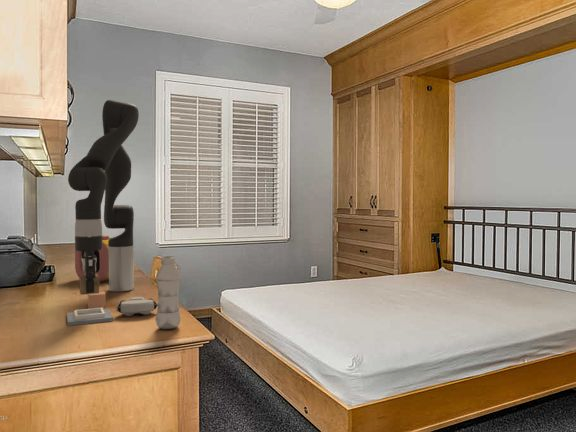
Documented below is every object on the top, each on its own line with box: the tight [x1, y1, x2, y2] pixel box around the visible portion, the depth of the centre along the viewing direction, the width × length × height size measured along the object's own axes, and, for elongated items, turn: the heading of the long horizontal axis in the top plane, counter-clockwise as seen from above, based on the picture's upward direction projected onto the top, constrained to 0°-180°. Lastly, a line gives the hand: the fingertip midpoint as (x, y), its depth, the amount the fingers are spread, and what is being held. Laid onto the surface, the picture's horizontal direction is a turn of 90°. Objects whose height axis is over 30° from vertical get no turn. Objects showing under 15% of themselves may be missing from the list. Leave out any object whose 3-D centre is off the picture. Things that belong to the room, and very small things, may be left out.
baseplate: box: [66, 308, 114, 327], centre depth 139 cm, size 12×12×2 cm
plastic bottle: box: [155, 255, 182, 330], centre depth 129 cm, size 6×7×20 cm
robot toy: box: [115, 296, 158, 317], centre depth 147 cm, size 12×4×15 cm
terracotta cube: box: [87, 290, 107, 309], centre depth 152 cm, size 5×5×5 cm
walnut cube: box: [79, 274, 100, 296], centre depth 139 cm, size 5×5×5 cm
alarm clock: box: [74, 234, 111, 283], centre depth 203 cm, size 18×11×19 cm, turn 67°
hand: (89, 290), depth 139 cm, fingers closed on walnut cube, 5 cm apart
